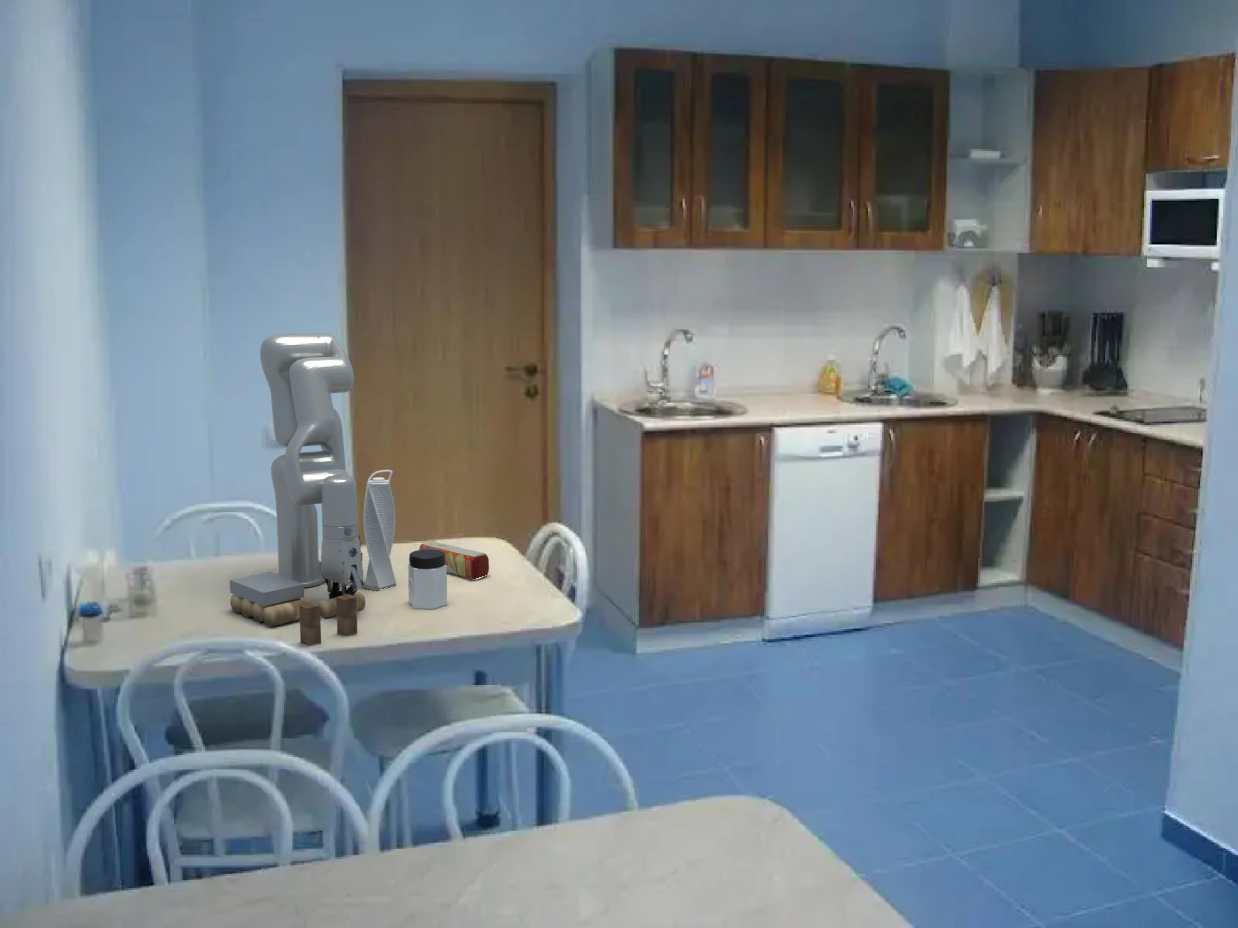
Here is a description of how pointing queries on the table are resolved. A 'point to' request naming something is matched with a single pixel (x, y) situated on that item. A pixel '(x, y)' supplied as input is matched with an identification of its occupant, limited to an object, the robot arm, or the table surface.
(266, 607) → the roller track
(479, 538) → the table surface
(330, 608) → the roller
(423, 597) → the jar
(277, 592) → the slab
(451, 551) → the snack package
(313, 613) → the posts
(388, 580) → the skyscraper
